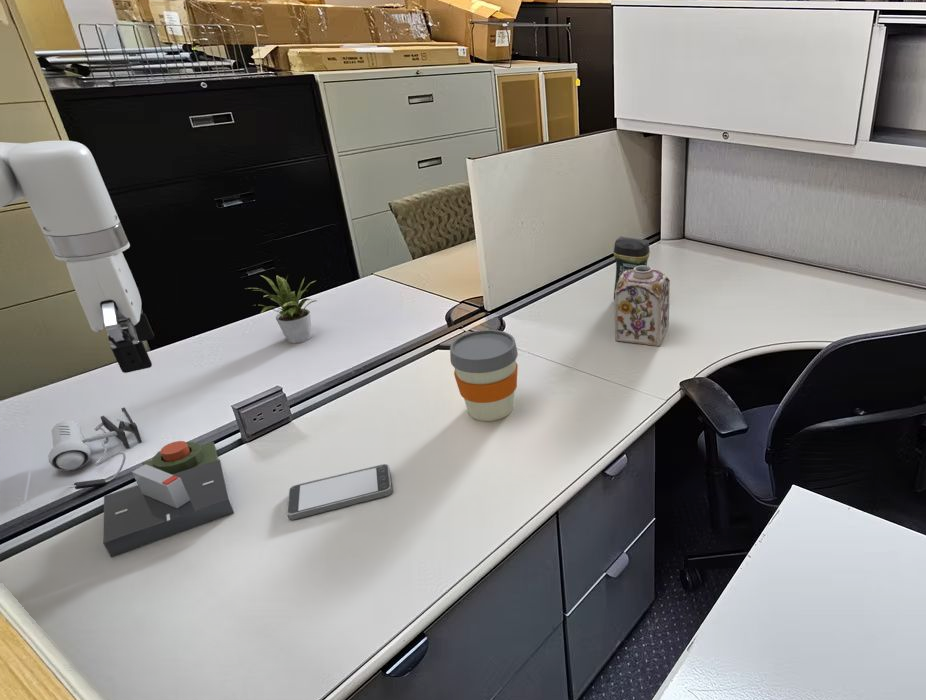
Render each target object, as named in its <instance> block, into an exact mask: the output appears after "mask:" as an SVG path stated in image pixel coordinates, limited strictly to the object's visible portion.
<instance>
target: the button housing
mask: <svg viewBox="0 0 926 700" xmlns="http://www.w3.org/2000/svg"><path fill="white" fill-rule="evenodd" d="M185 442H186V443H187V445H188V447H189V450H190V454H189V455H188V456H186V457H184V458H182V459H180V460H177V461H174V462H165V461H164V459H163V457H162V454H161V452H160V451H161V450H159V451H158V452H156V454H155V455H154V456H153V457H152V458H151V459H150V460H147V461H143V462H142V463H141V464H142V466H143V465H145V464H146V465H149V466H151V467H154V468H156V469H159V470H161V471H164V472H166V473H169V474H171V475H172V474H175V473H178V472H181V471H185V470H188V469H191V468H194V467H197V466H200V465H204V464H207V463H210V462H213V461H216V460H219V459H220V458H219V455H218V450H217V446H216V445H215V442H214V441H210V442H207V443H203V444H200V443H197V442H195V441H185Z"/></svg>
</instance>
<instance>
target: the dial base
mask: <svg viewBox="0 0 926 700" xmlns="http://www.w3.org/2000/svg"><path fill="white" fill-rule="evenodd" d="M218 459H219V460H216V461H213V462H210V463H207V464H204V465H200V466H197V467H194V468H191V469H188V470H185V471H181V472H178V473H175V474H172V475H174V476H177V477H179V478H181V480H182V483H183V485H184V487H185V489H186V492H187V494H188V496H189V498H190V501H188V502H187V503H185V504H184V505H182V506H180V507H179V508H175V507H172V506H170V505H168V504H165V503H163V502H160V501H158V500H156V499H153V498H151V497H148V496H146V495H144V494H142V492H141V490H140V488H139V486H138V484H136V485H134V486H131V487H128V488H124V489H121V490H118V491H115V492H112V493H109V494H105V495H104V496H103V532H102V533H103V534H102V544H103V546H104V547H105V549H106V551H107V553H108V555H109V557H110V558H114V557H118V556H120V555H123V554H126V553H128V552H131V551H133V550H137V549H139V548H142V547H145V546H148V545H150V544H153V543H155V542H158V541H161V540H165V539H166V538H171V537H172V536H175V535H179V534H181V533H184V532H186V531H189V530H192V529H194V528H195V529H196V528H197V527H200V526H203V525H205V524H208V523H211V522H215V521H217V520H220V519H222V518H226V517H228V516H231V515H234V514H235V510H234V505H233V501H232V496H231V492H230V488H229V483H228V478H227V474H226V471H225V469H224V466H223V463H222V461H221V459H220V458H218Z"/></svg>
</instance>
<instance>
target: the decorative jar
mask: <svg viewBox="0 0 926 700" xmlns="http://www.w3.org/2000/svg"><path fill="white" fill-rule="evenodd" d="M670 283H671V280H670V278H669V277H668V276H667V275H666V274H665V273H663V272H661V271H660V270H658V269H655V268H653V267H652V266H651V265H647V266H645V265H641V266H636V267H635V268H634V269H631V270H627V271H624V272H623V273H622V274H621V275H620V277H619V280H618V283H617V286H616V290H615V301H614V340H615V341H616V342H622V343H623V342H624V343H632V344H637V345H638V344H639V345H646V346H655V347H660V345H661V343H662V341H663V339H664V337H665V336H666V333H667V331H668V328H669V323H670V321H669V320H670V292H671V291H670V290H671V289H670V286H671V285H670Z"/></svg>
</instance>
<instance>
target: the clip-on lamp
mask: <svg viewBox="0 0 926 700" xmlns="http://www.w3.org/2000/svg"><path fill="white" fill-rule="evenodd" d="M121 412H122V413H121V414H120V416H119V417H113V416H112V417H110V416H105V415H102V416H100V420H101V423H99V424H98V425H97V426H96V427H95V428H94V430H95V432H98V431H99V430H101V431H102V433H99V434H95V435H89V436H86V437H84V435H83V433H82V429H81V425H80V424H79V423H77V422H76V421H73V420H64V421H59V422H58V423H56V424H55V425H54V426H52V429H51V438H52V448H51V449H50V451H49V453H48V456H47V458H48V463H49V464H50V465H51V467H52V468H53V469H56V470H59V471H62V472H63V471H73V470H77V469H80V468H82V467H84V466H85V465H86V464H88V462H89V461H90V459H91V457H92V451H91V449H90V447H89V446H88V444H87V443H91V442H94V441H99V440H100V441H101V440H103V439H105V440H104V441H101V445H102V447H103V449H104V451H103V453H102V455H101V456H100V457H99V458H98V459H97V460H96V462H95V463H94V465H95V467H98V466H100V465H102V464H104V463H105V462H107V461H108V460H110V459H112V458H115V457H116V456H118V455H122V457H123V458H122V462H121V464H120V467H119V468H118V470H117V471H116V473H115V474H114V475H113V476H112V477H111V478H108V479H107V480H105V479H104V478H99V479H91V480H82V481H77V482H74V483H73V485H68V486H67V489H73V488H74V489H75V490H83V489H90V488H96V487H104V486H105V485H106V484H107V483H109V482H112V481H113V480H114V479H115V478H117V477H118V475H119V474H120V472H121V471H122V469H123V468H124V466H125V463H126V459H127V457H126V455H127V454H126V453H125V451H122V450H120V451H117V452H114V453H112V454H110V455H108V456H106V455H107V452H108V448H107V446H106V445H107V444H108V443H109V438H113V437H115V438H117V439H118V440H119V441H120V442H121V443H122V445H123V447H124V448H125V449H130V445H129V441H128V438H127V435H126V432H128V433H131V434H133V435H134V436H135V439H136V441H137V442H138V444H140V443H142V442H143V441H142V437H141V435H140V431H139V427H138V426H137V424H136V422H134V421H133V419H132V418H131V416H130V414H129V413H128V411H127V408H126V407H122V408H121ZM102 427H104V428H105V429H106V430H107V431H108V432H106V430H105V429H104V428H102ZM105 456H106V457H105ZM103 485H104V486H103Z"/></svg>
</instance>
